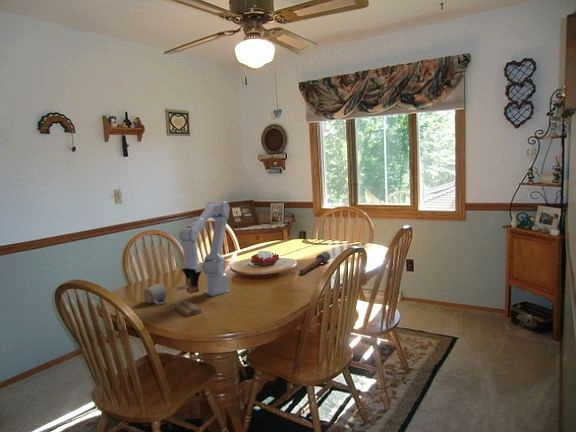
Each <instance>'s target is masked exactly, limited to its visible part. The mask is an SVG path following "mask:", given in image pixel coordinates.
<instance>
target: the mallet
mask: <svg viewBox="0 0 576 432" xmlns="http://www.w3.org/2000/svg"><path fill="white" fill-rule="evenodd" d="M330 259H331V254H330V253H329V252H328V251H323V252H322V253H320V254H318V255H316V257H315V260H314V261H313V262H311V263H310V264H309V265H307V266H305V267H304V268H302V269H300V270H299V272H298V273H299V275H301V274H304V275H305V274H306V273H307V272H308V271H310V270H312V269H313V268H314V267H316V266H317V265H320V264H319V263H324V264H325V263H327V262H328V261H330Z"/></svg>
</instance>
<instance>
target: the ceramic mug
mask: <svg viewBox="0 0 576 432" xmlns="http://www.w3.org/2000/svg"><path fill="white" fill-rule="evenodd" d="M142 296H143V299H144V301H145V303H148V304H155V305H159V306H160V305H161V306H163V305H165V304H166V303H167V300H168V297H167V289H166V287H165V286H164V285H163V284H162V283H161V282H160V283H157V284H154V285H151V286H149V287H147V288H145V289H144V290H143V295H142Z"/></svg>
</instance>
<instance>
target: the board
mask: <svg viewBox="0 0 576 432" xmlns="http://www.w3.org/2000/svg"><path fill="white" fill-rule="evenodd" d="M173 307H174V308H175V309H176V310H178V311H179V312H180V313H182V314H184V315H185V316H186V317H191V316H194V315H197V314H201V313H202V309H201V308H200V307H199V306H198V305H195V304H194V303H192V302H190V301H189V300H184V301H183V300H182V301H179V302H175V303H174V306H173Z"/></svg>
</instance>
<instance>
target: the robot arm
mask: <svg viewBox="0 0 576 432" xmlns="http://www.w3.org/2000/svg"><path fill="white" fill-rule="evenodd" d="M230 211H231V208H230V205H229V202H227V201H226V200H224V201H217V200H216V201H211V200H210V201H208V202H207V203H206V204H205V209H204V210H203V211H202V212H201V214H200V216H199V217H193V220H192V221H191V222H190V223H189V224H188V225H187V226H186V227H183V228H181V229H180V231H179V234H178V237H179V240H180V242H181V245H182V250H183V262H182V266H181V267H182V272H183V274H184V276H185V279H186V278H191V282H192V286H193V287H194V286H198V287H199V279H200V276H201V274H202V273H204V275H205V276H206V285H207V288H206V289H207V290H204V293H205V294H208V295H209V296H210V297H212V296H213V297H214V296H217V295H221V294H224V293H229V292H230V290H229V280H228V275H227V273H226V272H225V270H226V263H225V262H226V259H225V258H224V257H223V256H222V251H223V244H224V239H225V234H226V229H227V224H228V223H227V222H228V220H229V217H230ZM210 218H211V219H212V220H214V221H215V224H214V229H213V235H212V240H211V244H210V245H211V246H210V251H209V253H208V254H207V255H206V256H205V257H204V259H203V260H204V261H203V262H202V265H201V266H200V265H199V262H198V261H199V260H198V250H197V240H198V238H199V235H200V232H201V231H202V230H203V229H204V228H205V226H206V222H207V221H208V220H209V219H210Z"/></svg>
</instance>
